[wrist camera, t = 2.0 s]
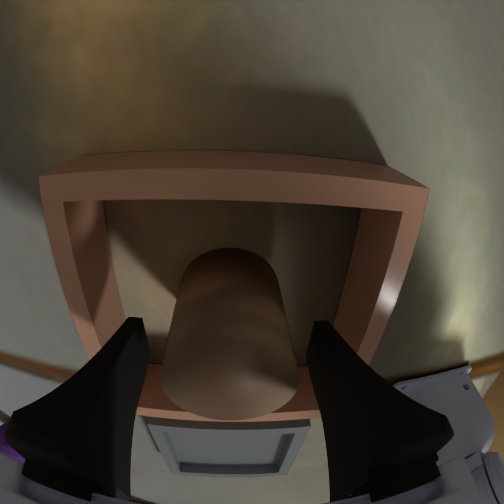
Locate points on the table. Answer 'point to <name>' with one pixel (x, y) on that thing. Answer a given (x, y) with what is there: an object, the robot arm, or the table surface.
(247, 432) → the tray
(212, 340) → the brown rounded cylinder
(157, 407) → the holder
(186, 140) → the table surface
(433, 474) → the robot arm
